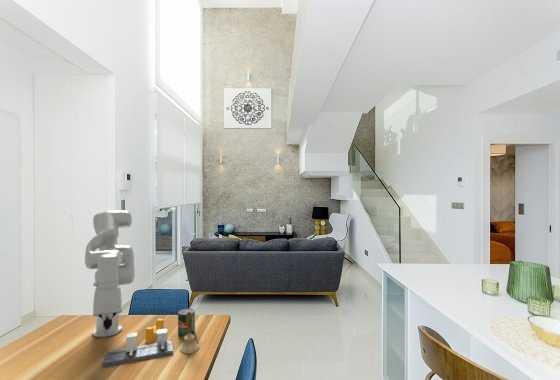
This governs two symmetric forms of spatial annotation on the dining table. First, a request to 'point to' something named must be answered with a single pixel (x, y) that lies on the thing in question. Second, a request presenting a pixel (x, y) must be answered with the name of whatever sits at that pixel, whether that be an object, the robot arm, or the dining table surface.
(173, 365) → the dining table surface
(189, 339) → the hand bell
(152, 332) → the pipe clamp
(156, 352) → the plate
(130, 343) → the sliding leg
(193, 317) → the canned tomato
